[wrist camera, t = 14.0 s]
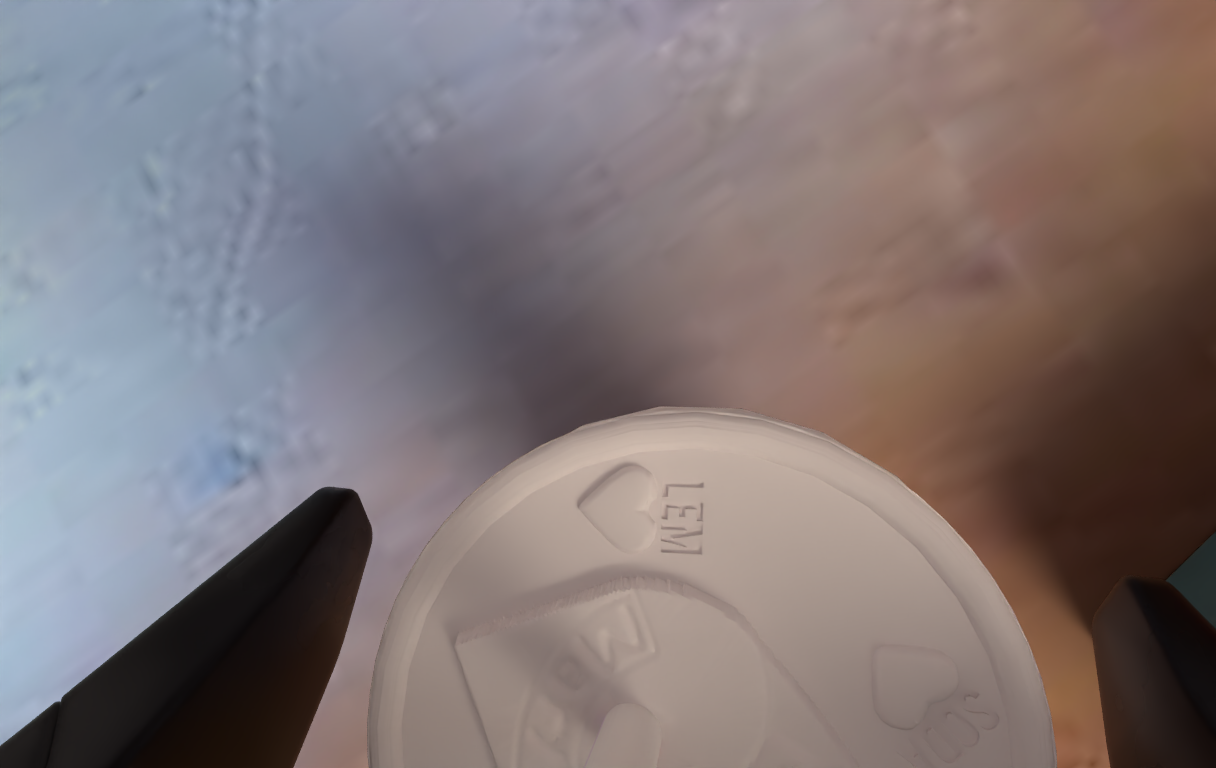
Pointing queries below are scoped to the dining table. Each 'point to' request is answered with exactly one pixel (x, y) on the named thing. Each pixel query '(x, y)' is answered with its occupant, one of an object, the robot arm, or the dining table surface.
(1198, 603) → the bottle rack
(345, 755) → the dining table surface
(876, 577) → the smoothie
